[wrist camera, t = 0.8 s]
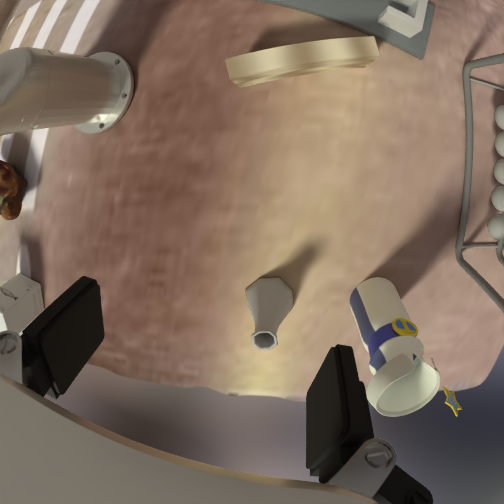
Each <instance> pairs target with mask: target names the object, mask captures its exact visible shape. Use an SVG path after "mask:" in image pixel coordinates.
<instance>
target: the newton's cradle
mask: <svg viewBox="0 0 504 504" xmlns="http://www.w3.org/2000/svg"><path fill="white" fill-rule="evenodd" d="M501 63H504V53H503V54H498V55H494V56H489V57H485V58H481V59H477V60H473V61H469V62H467V63H466V64H465V66H464V69H463V85H464V97H465V116H466V159H465V178H464V190H463V201H462V209H461V217H460V224H459V231H458V237H457V243H456V259H457V261H458V263H459V265H460V266H461V267H462V268H463V269H464V270H465V271H466V272H467V273H468V274H469V275H470V276H471V277H472V278H473V279H474V280H475V281H476V282H477V283H478V285H479V286H480V287H481V288H482V289H483V290H484V291H485V292H486V293H487V294H488V295H489V296H490V298H491V299H492V300H493V301H494V302H495V303H496V304H497V306H498V307H499V308H500V309H501V310H502V311H503V312H504V299H503V298H502V297H501V296H500V295H499V294H498V293H497V292H496V291H495V290H494V288H493V287H492V286H491V285H490V284H489V283H488V282H487V281H486V280H485V279H484V278H483V277H482V276H481V275H480V274H479V273H478V272H477V271H476V270H475V269H474V268H472V267H471V266H470V265H469V264H468V263H467V262H466V261H465V260H464V259H463V255H462V248H496V253H497V258H498V260H499V262H500V263H501V264H502V265H503V266H504V257H503V254H502V246H503V242H504V158H502V159H499V160H498V161H497V162H496V163H495V165H494V175H495V177H496V179H497V181H498V182H499V183H501V184H503V185H499V186H497V187H495V188H494V190H493V192H492V195H491V199H492V203H493V205H494V207H495V208H496V209H497V210H499V211H502V212H503V214H502V215H501V214H494V215H493V216H491V217H490V219H489V221H488V225H487V228H488V232H489V234H490V236H491V237H492V238H494V239H496V240H498V242H497V245H473V246H463V241H464V236H465V230H466V223H467V216H468V208H469V200H470V190H471V177H472V159H473V114H472V97H471V85H470V80H471V81H474V82H478V83H481V84H484V85H487V86H490V87H494V88H497V89H499V90H502V91H504V89H503V88H501V87H498V86H495V85H492V84H489V83H486V82H482V81H479V80H476V79H472V78H470V72H471V70H472V69H474V68H479V67H484V66H489V65H495V64H501ZM494 117H495V121H496V123H497V125H498V126H499V127H500V128H501V129H503V130H504V105H500V106H498V107H497V108H496V110H495V113H494ZM495 147H496V150H497V152H498V153H499V154H500V155H501V156H502V157H504V131H503V132H500V133H498V134H497V136H496V138H495Z"/></svg>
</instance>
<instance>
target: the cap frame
mask: <svg viewBox="0 0 504 504" xmlns="http://www.w3.org/2000/svg"><path fill="white" fill-rule="evenodd" d="M257 1H262V2H267V3H271V4H276V5H280V6H284V7H288V8H292V9H296V10H300V11H303V12H307V13H310V14H314V15H317V16H320V17H323V18H326V19H329V20H332V21H335V22H338V23H341V24H344V25H346V26H349V27H352V28H354V29H357V30H359V31H362V32H364V33H366V34H369V35H371V36H374V37H376V38H378V39H380V40H382V41H385V42H387V43H389V44H391V45H393V46H395V47H397V48H399V49H401V50H403V51H405V52H407V53H409V54H411V55H413V56H415V57H416V58H418V59H420V60H421V59H423V58H424V54H425V50H426V46H427V41H428V37H429V32H430V27H431V22H432V17H433V12H434V5H432V4H431V3H429V2H428V0H257Z"/></svg>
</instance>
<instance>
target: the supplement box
mask: <svg viewBox="0 0 504 504" xmlns="http://www.w3.org/2000/svg"><path fill="white" fill-rule="evenodd" d="M43 310H44V304H43V298H42V291H41V285H40V283H38V282H36V281H34V280H32V279H30V278H28V277H26V276H24V275H23V274H21V273H19V274H17V275H16V276H15V277H13V278H12V279H11V280H9V281H8V282H7V283H5V284H4V285H3V286H1V287H0V332H2V331H6V330H8V331H14V332H16V333H18V334H19V333H20V332H21V331H22V330H23V329H24V328H25V327H26V326H27V325H28V324H29V323H30V322H31V321H32V320H33V319H34V318H35V317H36V316H38V315H39V314H40V313H41V312H42V311H43Z"/></svg>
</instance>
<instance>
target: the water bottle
mask: <svg viewBox="0 0 504 504" xmlns="http://www.w3.org/2000/svg"><path fill="white" fill-rule="evenodd" d="M350 307H351V310H352V313H353V315H354V318H355V320H356V323H357V326H358V329H359V332H360V336H361V339H362V342H363V344H364V347H365V348H366V350H367V351H368V352H369V354H370V358H371V359H370V363H369V367H370V370H371V372H372V373H373V374H374V376H373V378H372V380H371V382H370V384H369V385H368V387H367V391H366V395H367V399H368V400H369V402H370V403H371V404H372V405H373V406H374V407H375V408H376V410H377V411H378V412H379V413H380V414H382V415H385V416H402V415H406V414H409V413H412V412H414V411H416V410H418V409H420V408H421V407H423V406H424V405H425V404H426V403H428V402H429V401H430V400H431V399H432V398H433V396H434V395H435V394H436V392H437V391H438V389H439V386H440V374H439V372H438V370H437V369H436V368H435V370H434V369H433V368H432V367H430V366H429V365H428V364H427V363H426V362H425V361H424V360H423V353H424V347H423V344H422V342H421V341H420V340H419V339H418V338H416V336H417V334H418V329H417V327H416V326H415V325H414V324H413V323H412V322H411V319H410V317H409V315H408V313H407V311H406V309H405V307H404V305H403V303H402V301H401V299H400V297H399V295H398V292H397V290H396V288H395V286H394V284H393V283H392V282H391V281H389V280H388V279H385V278H381V277H375V278H370V279H367V280H365V281H363V282H362V283H360V284H359V285H358V286H357V287H356V288H355V289H354V291H353V293H352V295H351V298H350ZM431 359H432V358H431ZM432 363H433V365H434V366H435V364H434V361H433V359H432ZM443 389H444V391H445V394H446V396H447V399H446V401H445V403H446V404H447V405H449V406H451V407H452V409H453V411H454V413H455V415H456V416H457V415H458V410H461V409H462V408H461V406H460V405H459V404H458V403H457V401H456V399H455V394H454V392H451V393H450V392H449V391H448V390H447V389H446V388H445V387H443Z"/></svg>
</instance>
